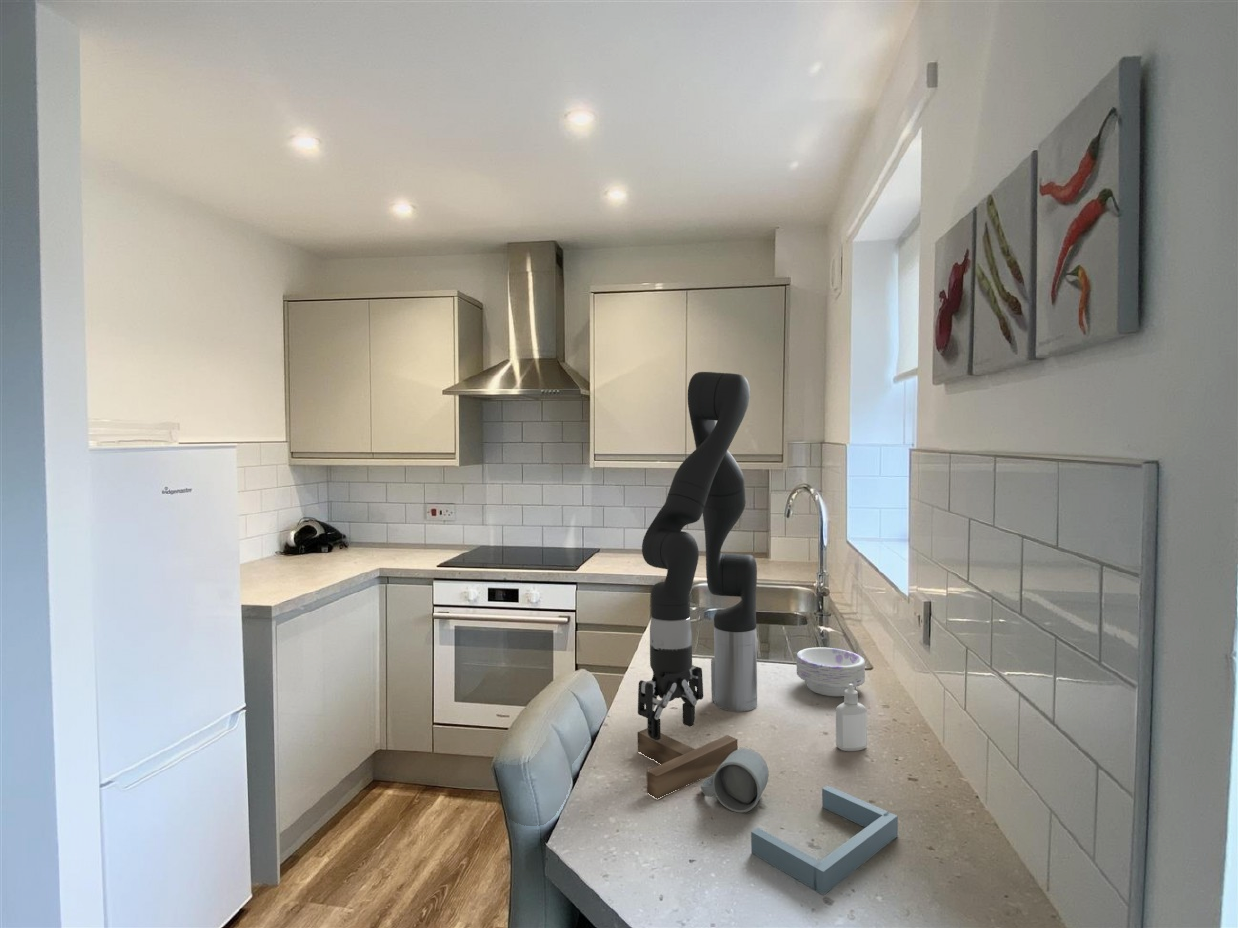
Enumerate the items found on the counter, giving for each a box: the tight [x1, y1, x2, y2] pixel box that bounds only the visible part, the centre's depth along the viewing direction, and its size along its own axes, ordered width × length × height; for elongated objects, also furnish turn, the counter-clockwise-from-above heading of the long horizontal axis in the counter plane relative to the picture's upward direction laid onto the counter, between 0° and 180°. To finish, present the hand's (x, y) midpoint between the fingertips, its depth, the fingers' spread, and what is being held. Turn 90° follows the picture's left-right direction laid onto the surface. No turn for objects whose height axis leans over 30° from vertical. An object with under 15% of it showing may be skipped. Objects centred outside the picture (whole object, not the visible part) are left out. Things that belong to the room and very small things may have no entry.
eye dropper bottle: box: [835, 684, 868, 752], centre depth 123 cm, size 4×6×12 cm
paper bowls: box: [795, 646, 866, 697], centre depth 152 cm, size 15×15×8 cm
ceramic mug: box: [700, 747, 770, 813], centre depth 106 cm, size 11×8×8 cm
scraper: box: [636, 727, 739, 799], centre depth 118 cm, size 14×20×4 cm
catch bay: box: [750, 784, 899, 896], centre depth 93 cm, size 12×19×3 cm, turn 130°
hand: (671, 731), depth 117 cm, fingers open, 8 cm apart
